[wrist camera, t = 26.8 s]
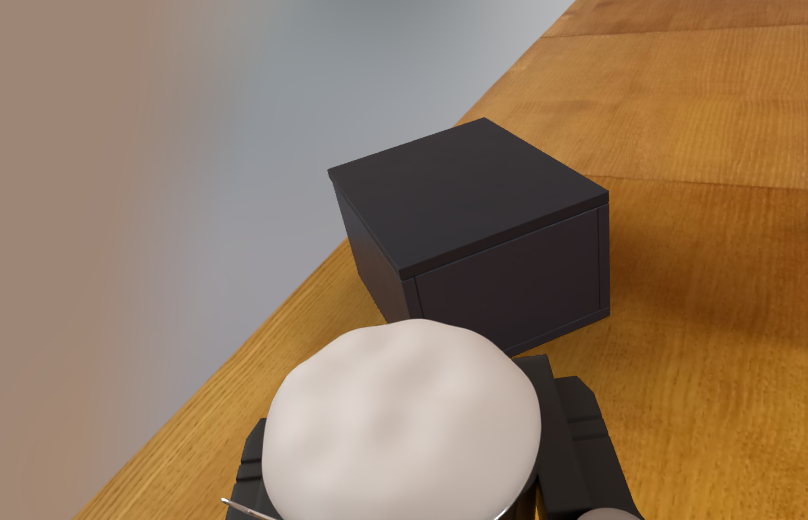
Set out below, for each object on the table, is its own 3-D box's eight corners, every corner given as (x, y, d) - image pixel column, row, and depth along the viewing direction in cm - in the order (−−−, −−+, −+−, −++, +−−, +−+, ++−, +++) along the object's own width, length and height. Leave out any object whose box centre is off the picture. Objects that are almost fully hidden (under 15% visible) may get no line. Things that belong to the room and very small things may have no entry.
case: (358, 274, 52) (332, 182, 47) (501, 221, 54) (490, 129, 49) (428, 392, 39) (401, 282, 34) (610, 315, 41) (609, 203, 37)
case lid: (329, 178, 47) (327, 169, 47) (485, 125, 50) (484, 116, 50) (401, 281, 34) (398, 269, 34) (609, 202, 37) (609, 190, 36)
